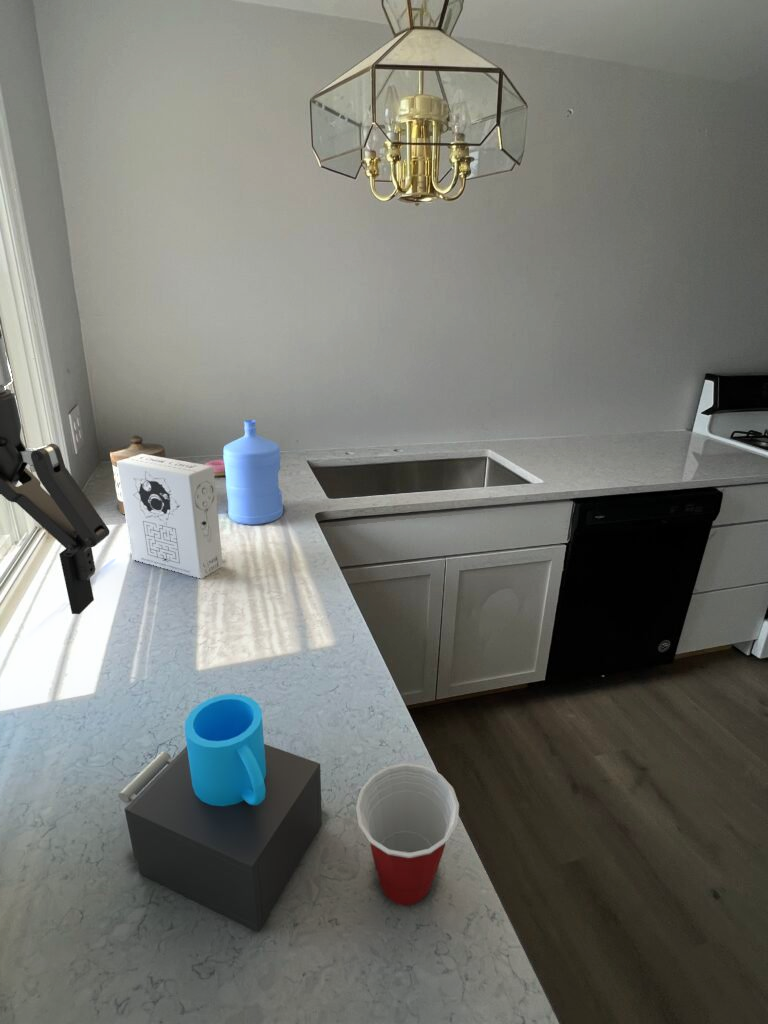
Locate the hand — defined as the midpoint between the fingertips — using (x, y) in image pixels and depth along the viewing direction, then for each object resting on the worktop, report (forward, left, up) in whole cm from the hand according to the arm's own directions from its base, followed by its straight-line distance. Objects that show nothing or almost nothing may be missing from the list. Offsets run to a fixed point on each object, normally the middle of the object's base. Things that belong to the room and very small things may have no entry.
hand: (16, 604), depth 56 cm
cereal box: (-15, +71, -32) cm, 79 cm away
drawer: (+16, 0, -31) cm, 35 cm away
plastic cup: (+40, -4, -32) cm, 51 cm away
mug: (+21, -1, -22) cm, 31 cm away
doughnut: (-27, +141, -30) cm, 147 cm away
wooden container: (-38, +106, -32) cm, 117 cm away
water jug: (-4, +103, -32) cm, 108 cm away
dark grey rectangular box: (+20, -1, -32) cm, 37 cm away
